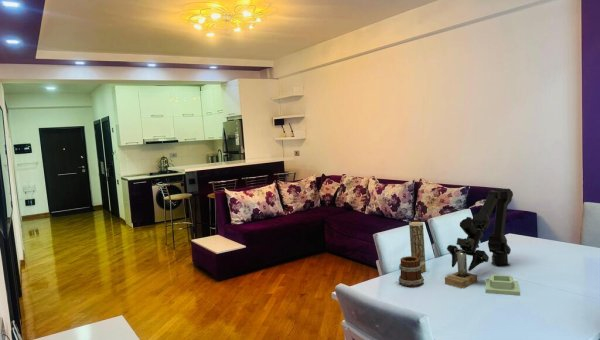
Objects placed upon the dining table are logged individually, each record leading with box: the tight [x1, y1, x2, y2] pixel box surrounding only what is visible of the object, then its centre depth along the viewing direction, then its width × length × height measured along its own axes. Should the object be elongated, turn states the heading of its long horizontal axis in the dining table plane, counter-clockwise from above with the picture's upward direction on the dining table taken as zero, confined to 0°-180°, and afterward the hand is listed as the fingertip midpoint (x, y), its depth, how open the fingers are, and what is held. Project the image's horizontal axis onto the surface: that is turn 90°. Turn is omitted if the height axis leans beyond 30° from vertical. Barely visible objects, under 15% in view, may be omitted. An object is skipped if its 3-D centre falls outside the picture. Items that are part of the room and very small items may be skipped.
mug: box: [398, 252, 425, 288], centre depth 195 cm, size 12×14×15 cm
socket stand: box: [485, 273, 521, 296], centre depth 179 cm, size 13×13×4 cm
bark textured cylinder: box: [408, 221, 427, 274], centre depth 209 cm, size 7×7×25 cm
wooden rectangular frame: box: [444, 271, 478, 289], centre depth 190 cm, size 12×9×3 cm
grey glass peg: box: [456, 251, 468, 278], centre depth 190 cm, size 4×4×14 cm
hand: (460, 268), depth 190 cm, fingers open, 8 cm apart
